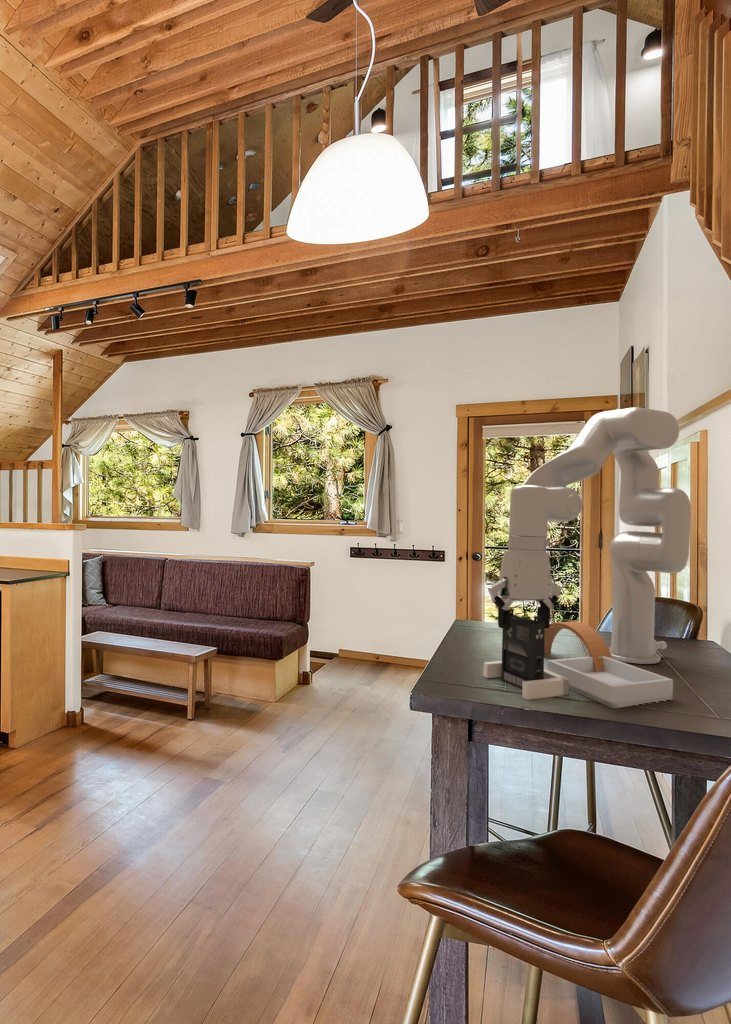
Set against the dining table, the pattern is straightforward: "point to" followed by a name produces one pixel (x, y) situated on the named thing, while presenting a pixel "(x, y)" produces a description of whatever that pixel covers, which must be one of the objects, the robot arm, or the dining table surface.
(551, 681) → the cream piece
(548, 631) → the arch
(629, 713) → the dining table surface
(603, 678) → the parts tray
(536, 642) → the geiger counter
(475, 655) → the dining table surface
